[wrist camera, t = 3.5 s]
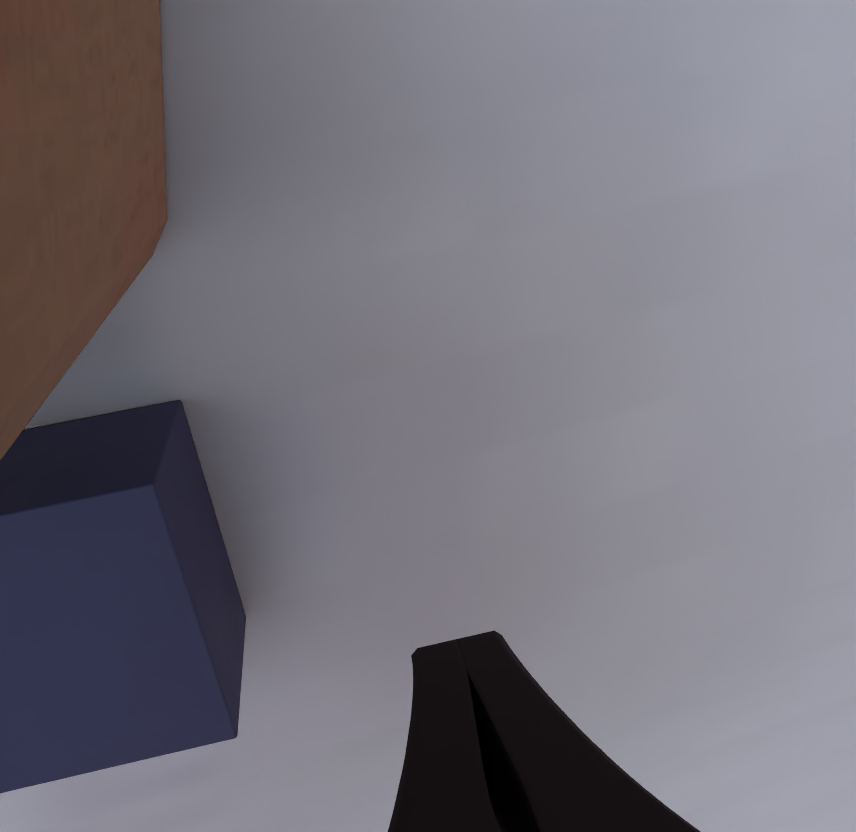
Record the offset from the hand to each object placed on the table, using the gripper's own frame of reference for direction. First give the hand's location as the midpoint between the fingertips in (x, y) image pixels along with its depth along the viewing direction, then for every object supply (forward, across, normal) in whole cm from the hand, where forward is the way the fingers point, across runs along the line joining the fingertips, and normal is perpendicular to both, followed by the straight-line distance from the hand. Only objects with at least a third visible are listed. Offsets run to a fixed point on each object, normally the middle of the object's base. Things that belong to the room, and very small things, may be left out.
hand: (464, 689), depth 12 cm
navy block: (+7, +8, 0) cm, 10 cm away
